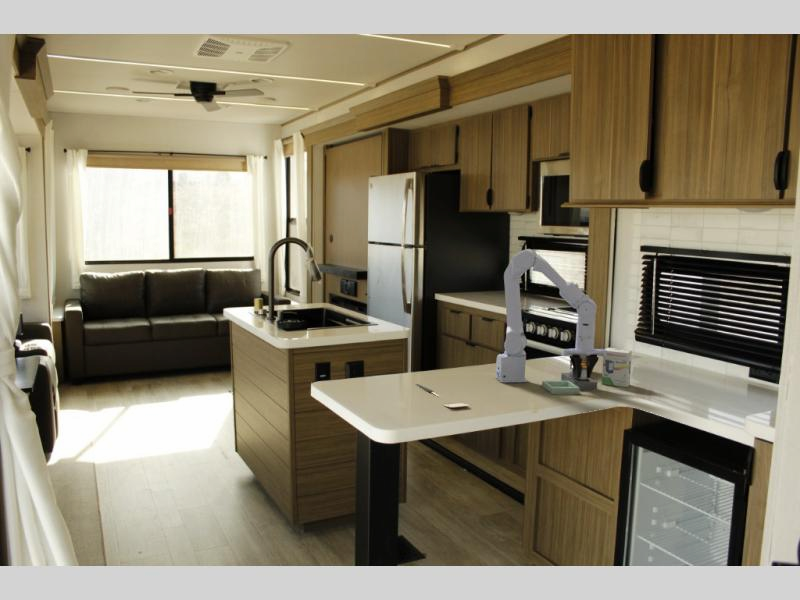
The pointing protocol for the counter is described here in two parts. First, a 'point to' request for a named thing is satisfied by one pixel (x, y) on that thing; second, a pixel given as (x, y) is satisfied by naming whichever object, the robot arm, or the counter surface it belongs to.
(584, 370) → the pin
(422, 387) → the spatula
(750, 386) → the counter surface
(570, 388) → the tray
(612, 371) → the ink box
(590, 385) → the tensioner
